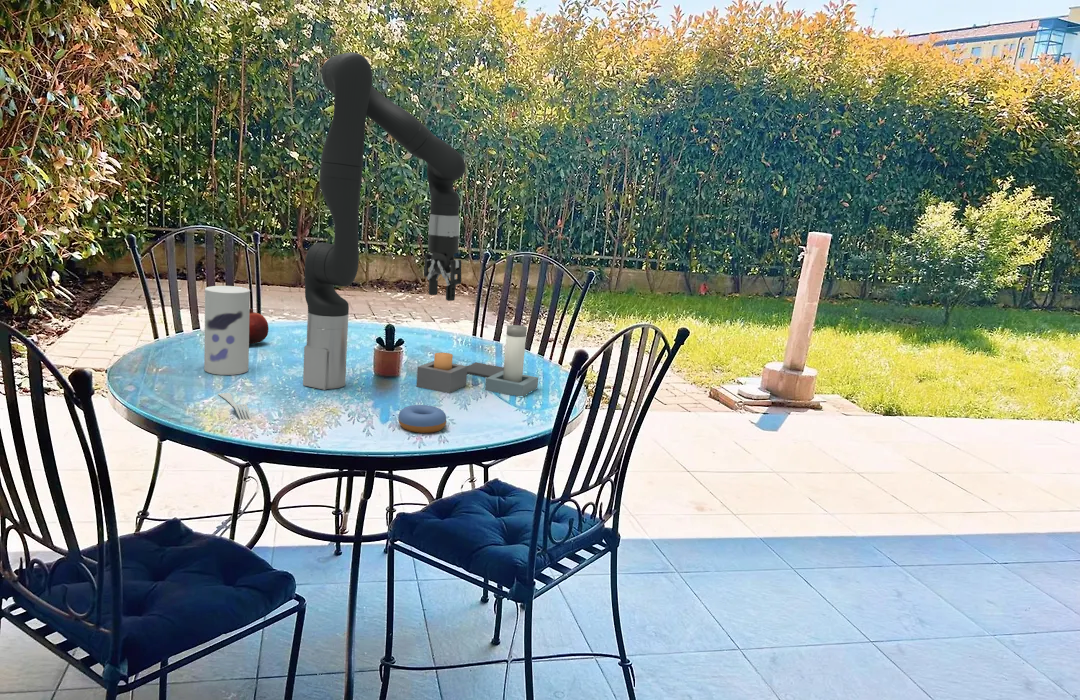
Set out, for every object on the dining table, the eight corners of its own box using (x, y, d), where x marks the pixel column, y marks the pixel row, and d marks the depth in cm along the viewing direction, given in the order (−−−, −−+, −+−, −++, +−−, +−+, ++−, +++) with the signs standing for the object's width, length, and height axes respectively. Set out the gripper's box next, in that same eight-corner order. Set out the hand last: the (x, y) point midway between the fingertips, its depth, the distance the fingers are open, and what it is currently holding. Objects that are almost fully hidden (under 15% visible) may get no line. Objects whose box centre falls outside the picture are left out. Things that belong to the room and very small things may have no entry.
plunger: (445, 380, 203) (447, 357, 202) (429, 377, 205) (431, 354, 204) (454, 377, 207) (455, 354, 206) (438, 374, 209) (440, 351, 208)
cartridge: (516, 393, 207) (522, 329, 203) (498, 389, 208) (503, 326, 205) (524, 389, 211) (529, 327, 208) (506, 385, 213) (511, 324, 209)
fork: (229, 404, 186) (229, 391, 185) (253, 422, 168) (253, 408, 168) (216, 405, 184) (216, 392, 184) (239, 423, 167) (238, 409, 166)
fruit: (224, 347, 225) (224, 310, 223) (229, 339, 234) (230, 304, 232) (266, 349, 227) (266, 312, 225) (269, 341, 236) (270, 306, 234)
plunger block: (449, 393, 201) (450, 373, 200) (416, 386, 204) (417, 366, 203) (466, 385, 209) (467, 366, 208) (434, 379, 212) (435, 360, 211)
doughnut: (387, 426, 172) (391, 405, 171) (413, 417, 181) (417, 397, 180) (428, 441, 168) (432, 419, 167) (452, 431, 177) (456, 411, 176)
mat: (495, 379, 218) (495, 376, 218) (457, 371, 222) (457, 369, 222) (512, 371, 228) (512, 369, 228) (475, 364, 232) (475, 362, 232)
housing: (522, 397, 203) (523, 385, 203) (484, 390, 207) (485, 378, 206) (537, 388, 212) (538, 377, 212) (501, 381, 216) (502, 370, 215)
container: (205, 375, 196) (206, 291, 192) (203, 365, 205) (203, 284, 201) (250, 375, 200) (251, 292, 196) (246, 364, 209) (247, 285, 205)
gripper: (416, 230, 211) (414, 293, 215) (445, 236, 200) (443, 303, 204) (442, 230, 215) (439, 292, 219) (472, 236, 204) (469, 301, 208)
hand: (441, 297), depth 211 cm, fingers open, 8 cm apart
